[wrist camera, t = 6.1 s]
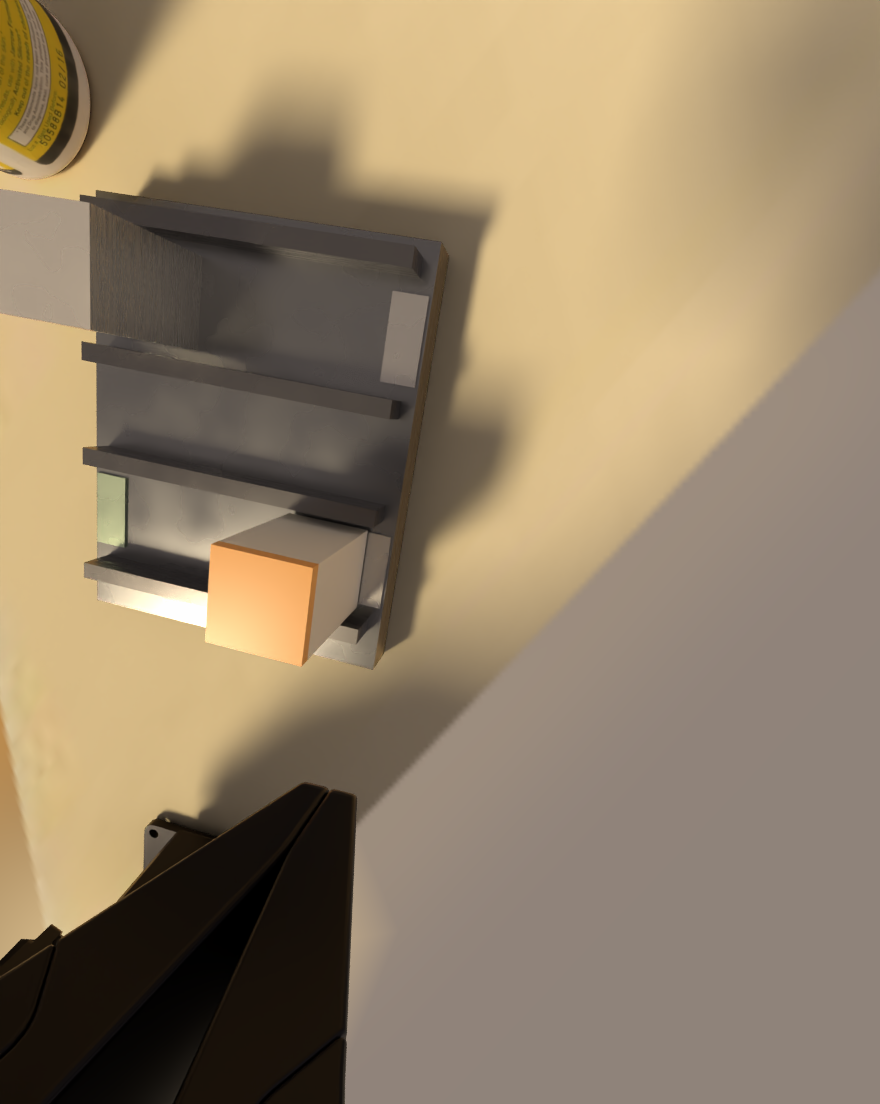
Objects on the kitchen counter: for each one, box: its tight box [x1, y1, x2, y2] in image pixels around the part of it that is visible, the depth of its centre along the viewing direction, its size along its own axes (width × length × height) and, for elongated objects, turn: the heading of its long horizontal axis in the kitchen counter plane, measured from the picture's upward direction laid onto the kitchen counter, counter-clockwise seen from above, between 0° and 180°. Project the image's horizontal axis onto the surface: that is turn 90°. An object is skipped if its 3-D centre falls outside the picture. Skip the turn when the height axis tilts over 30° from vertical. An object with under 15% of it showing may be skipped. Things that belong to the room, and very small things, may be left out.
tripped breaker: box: [205, 513, 368, 667], centre depth 17 cm, size 3×3×5 cm
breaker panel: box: [0, 189, 449, 670], centre depth 18 cm, size 15×12×6 cm
